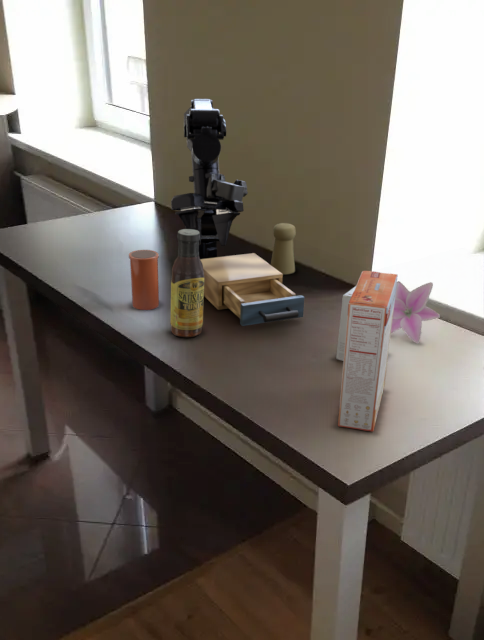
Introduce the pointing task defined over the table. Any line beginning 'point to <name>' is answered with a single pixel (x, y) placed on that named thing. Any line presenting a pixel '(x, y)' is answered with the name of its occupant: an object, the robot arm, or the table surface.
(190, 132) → the robot arm
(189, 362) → the table surface
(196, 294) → the sauce bottle
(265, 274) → the cabinet
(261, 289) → the drawer
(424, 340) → the table surface
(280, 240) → the cork
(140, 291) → the cup
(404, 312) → the lily
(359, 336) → the cracker box
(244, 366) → the table surface
